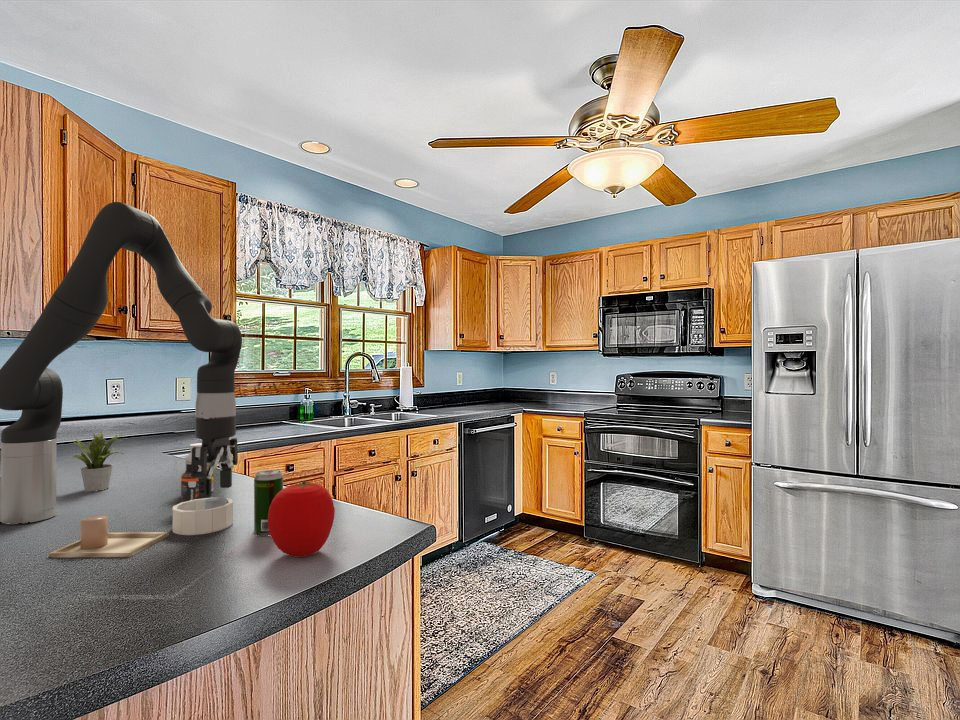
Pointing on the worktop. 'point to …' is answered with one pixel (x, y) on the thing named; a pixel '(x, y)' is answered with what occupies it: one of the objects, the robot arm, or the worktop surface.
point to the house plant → (96, 463)
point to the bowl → (201, 517)
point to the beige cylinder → (94, 532)
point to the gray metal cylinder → (215, 502)
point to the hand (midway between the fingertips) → (215, 492)
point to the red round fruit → (301, 518)
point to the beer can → (265, 497)
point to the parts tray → (113, 545)
